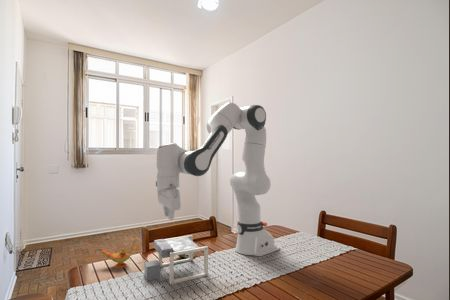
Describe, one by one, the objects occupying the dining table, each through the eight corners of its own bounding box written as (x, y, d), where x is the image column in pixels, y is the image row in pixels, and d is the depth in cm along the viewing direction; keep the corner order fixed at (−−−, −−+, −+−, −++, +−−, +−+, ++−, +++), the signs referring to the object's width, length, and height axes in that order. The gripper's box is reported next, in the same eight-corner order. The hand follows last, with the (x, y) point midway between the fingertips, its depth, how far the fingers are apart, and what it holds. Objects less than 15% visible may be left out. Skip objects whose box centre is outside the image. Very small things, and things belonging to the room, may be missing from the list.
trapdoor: (186, 241, 112) (186, 234, 112) (199, 251, 99) (199, 244, 99) (153, 246, 105) (153, 239, 105) (162, 259, 92) (162, 250, 92)
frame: (191, 259, 115) (191, 234, 115) (208, 275, 99) (208, 246, 99) (158, 266, 107) (158, 240, 108) (170, 284, 92) (170, 253, 92)
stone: (157, 272, 102) (157, 259, 102) (160, 277, 97) (160, 264, 98) (144, 275, 99) (144, 262, 100) (146, 280, 95) (146, 267, 95)
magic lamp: (100, 262, 112) (100, 237, 112) (140, 262, 111) (140, 237, 112) (91, 268, 105) (92, 242, 105) (134, 269, 104) (134, 242, 105)
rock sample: (189, 254, 111) (182, 237, 116) (176, 264, 111) (170, 247, 117) (202, 257, 119) (195, 241, 124) (189, 267, 119) (183, 250, 125)
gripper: (184, 185, 95) (185, 222, 94) (169, 180, 113) (169, 211, 112) (167, 186, 92) (168, 224, 91) (154, 181, 110) (155, 213, 109)
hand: (169, 217), depth 102 cm, fingers open, 5 cm apart
